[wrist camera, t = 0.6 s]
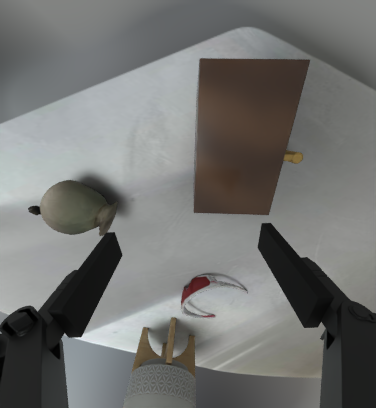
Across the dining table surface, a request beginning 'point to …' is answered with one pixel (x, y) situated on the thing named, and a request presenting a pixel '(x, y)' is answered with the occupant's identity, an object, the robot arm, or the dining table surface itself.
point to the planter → (162, 375)
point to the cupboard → (243, 131)
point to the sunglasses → (199, 286)
